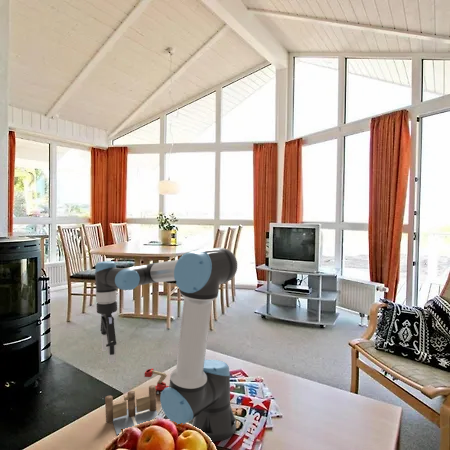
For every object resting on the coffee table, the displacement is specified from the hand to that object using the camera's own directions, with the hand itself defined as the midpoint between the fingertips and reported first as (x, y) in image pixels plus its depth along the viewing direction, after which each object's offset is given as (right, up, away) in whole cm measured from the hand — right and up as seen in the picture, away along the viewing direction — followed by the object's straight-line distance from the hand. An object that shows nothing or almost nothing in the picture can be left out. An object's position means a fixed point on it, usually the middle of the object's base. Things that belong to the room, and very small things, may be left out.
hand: (108, 356), depth 135 cm
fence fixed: (+14, -21, -2) cm, 25 cm away
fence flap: (+6, -21, -6) cm, 22 cm away
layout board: (+12, -21, -5) cm, 25 cm away
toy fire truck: (+18, -21, +14) cm, 31 cm away
